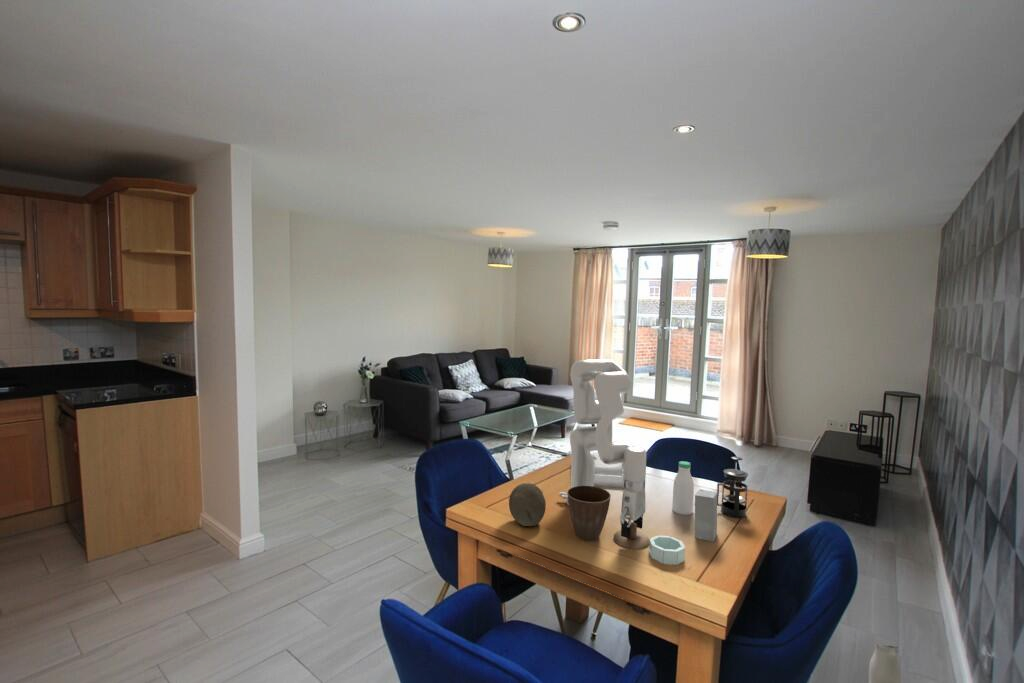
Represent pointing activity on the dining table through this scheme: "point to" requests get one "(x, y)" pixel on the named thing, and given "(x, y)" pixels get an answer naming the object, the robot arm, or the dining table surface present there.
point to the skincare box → (706, 515)
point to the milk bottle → (683, 490)
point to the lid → (632, 539)
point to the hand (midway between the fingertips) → (631, 532)
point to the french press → (733, 493)
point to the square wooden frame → (608, 479)
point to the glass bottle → (884, 665)
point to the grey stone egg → (527, 504)
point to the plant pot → (588, 510)
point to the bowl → (667, 550)
